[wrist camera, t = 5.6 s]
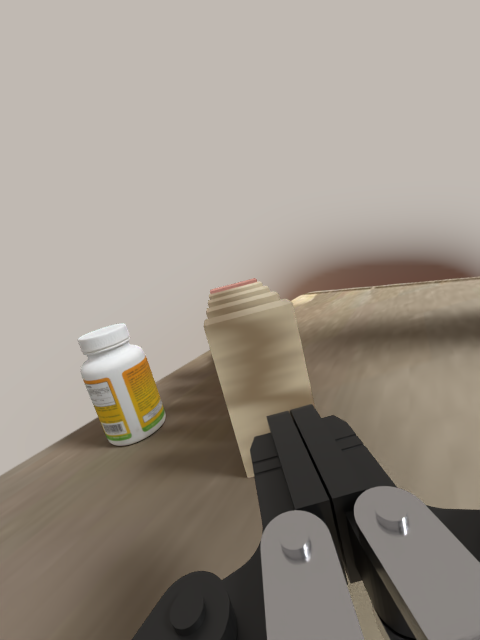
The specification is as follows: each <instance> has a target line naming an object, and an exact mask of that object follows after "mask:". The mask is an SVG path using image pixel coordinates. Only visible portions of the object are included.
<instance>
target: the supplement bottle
mask: <svg viewBox="0 0 480 640" xmlns="http://www.w3.org/2000/svg"><path fill="white" fill-rule="evenodd" d="M129 340H130V334H129V331H128V329H127V326H126V324H125V323H122V324H115V325H111V326H107V327H104V328H101V329H98V330H95V331H92V332H90V333H87V334H85V335H83V336H81V337H79V338H78V342H79V345H80V348H81V351H82V352H83V354H84V355H87V357H88V360H87V361H85V362H84V364H83V365H82V367H81V375H82V378H83V380H84V383H85V385H86V388H87V390H88V393H89V395H90V397H91V400H92V403H93V405H94V407H95V410H96V412H97V415H98V417H99V420H100V422H101V425H102V427H103V430H104V432H105V435H106V437H107V439H108V441H109V442H110V443H111V444H113V445H117V446H124V445H130V444H133V443H136V442H138V441H141V440H143V439H144V438H146V437H148V436H150V435H151V434H153V433H154V432H155V431H156V430H158V429H159V428H160V427H161V426H162V424H163V423H164V421H165V417H166V414H165V410H164V407H163V404H162V401H161V398H160V396H159V393H158V390H157V387H156V384H155V381H154V378H153V376H152V372H151V370H150V367H149V364H148V361H147V358H146V355H145V353H144V351H143V349H142V348H141V347H139V346H137V345H131V344H130V343H129Z"/></svg>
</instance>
